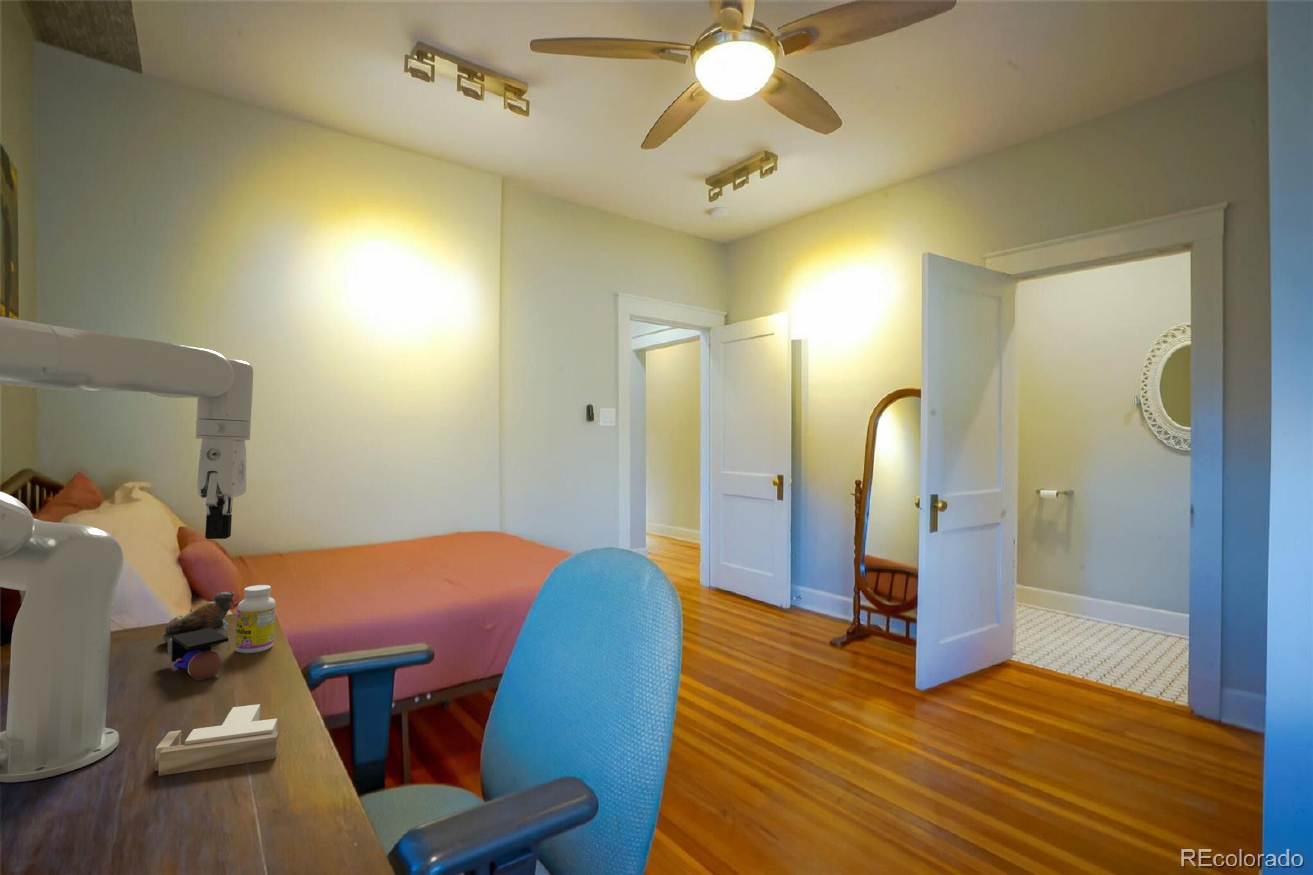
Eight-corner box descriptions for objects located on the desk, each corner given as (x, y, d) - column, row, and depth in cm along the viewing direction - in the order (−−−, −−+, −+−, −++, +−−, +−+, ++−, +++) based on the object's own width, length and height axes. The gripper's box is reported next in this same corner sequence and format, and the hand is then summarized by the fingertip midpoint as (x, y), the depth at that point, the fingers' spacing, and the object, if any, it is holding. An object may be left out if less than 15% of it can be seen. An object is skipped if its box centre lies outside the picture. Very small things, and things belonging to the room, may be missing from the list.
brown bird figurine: (157, 649, 120) (160, 600, 121) (166, 638, 127) (169, 592, 127) (229, 641, 126) (231, 595, 126) (234, 632, 132) (236, 587, 133)
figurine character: (162, 674, 112) (185, 686, 103) (163, 633, 112) (186, 642, 103) (205, 664, 117) (231, 675, 108) (206, 625, 118) (232, 633, 109)
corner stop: (275, 758, 81) (276, 736, 81) (149, 777, 76) (150, 753, 76) (284, 737, 87) (285, 717, 87) (167, 753, 81) (169, 731, 82)
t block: (271, 754, 82) (272, 729, 82) (183, 767, 78) (185, 741, 78) (283, 723, 91) (284, 701, 91) (205, 734, 87) (206, 710, 87)
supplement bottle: (228, 650, 121) (231, 588, 121) (262, 641, 127) (265, 582, 127) (246, 656, 118) (249, 593, 118) (280, 647, 124) (283, 586, 124)
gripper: (238, 431, 95) (232, 544, 94) (259, 432, 108) (254, 531, 108) (180, 429, 92) (174, 546, 91) (210, 430, 105) (205, 532, 105)
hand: (218, 537), depth 100 cm, fingers closed
